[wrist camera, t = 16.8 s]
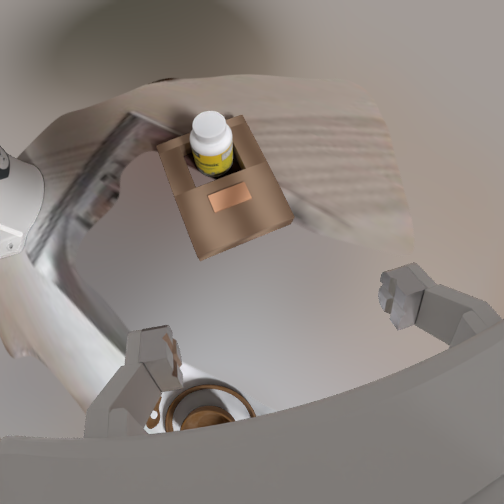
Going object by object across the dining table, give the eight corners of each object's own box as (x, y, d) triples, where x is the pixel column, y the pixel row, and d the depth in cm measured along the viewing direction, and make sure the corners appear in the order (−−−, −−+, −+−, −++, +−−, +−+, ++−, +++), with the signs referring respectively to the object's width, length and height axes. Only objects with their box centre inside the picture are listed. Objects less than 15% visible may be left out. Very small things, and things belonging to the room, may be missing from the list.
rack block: (200, 261, 41) (197, 256, 38) (160, 156, 45) (155, 144, 41) (290, 223, 43) (294, 216, 40) (241, 126, 46) (242, 113, 43)
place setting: (291, 405, 39) (299, 417, 33) (242, 517, 34) (242, 538, 28) (165, 362, 39) (153, 368, 33) (128, 478, 35) (115, 495, 29)
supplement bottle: (188, 167, 44) (176, 129, 35) (209, 140, 45) (204, 99, 36) (219, 185, 44) (214, 149, 34) (240, 156, 45) (241, 117, 35)
